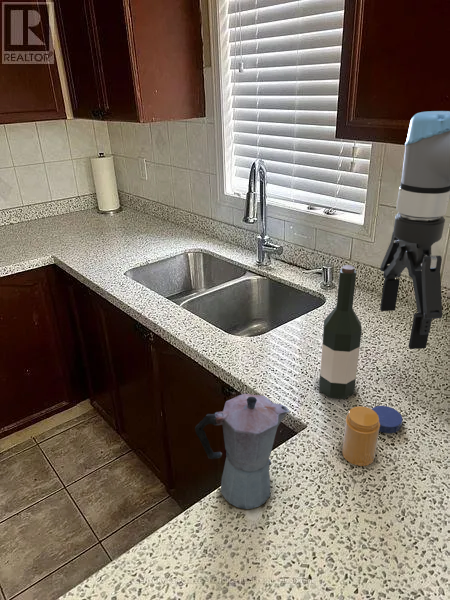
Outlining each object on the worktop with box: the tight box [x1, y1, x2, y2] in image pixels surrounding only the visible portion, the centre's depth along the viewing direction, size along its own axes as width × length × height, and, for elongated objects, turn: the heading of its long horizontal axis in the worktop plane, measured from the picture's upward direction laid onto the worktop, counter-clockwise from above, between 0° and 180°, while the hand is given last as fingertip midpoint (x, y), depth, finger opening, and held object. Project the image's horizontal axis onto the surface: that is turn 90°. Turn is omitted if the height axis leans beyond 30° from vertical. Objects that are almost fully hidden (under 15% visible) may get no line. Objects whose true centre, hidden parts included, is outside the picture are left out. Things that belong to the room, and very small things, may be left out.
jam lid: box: [371, 405, 403, 434], centre depth 92 cm, size 6×6×2 cm
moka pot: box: [194, 393, 291, 510], centre depth 74 cm, size 10×15×20 cm, turn 107°
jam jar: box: [341, 405, 380, 467], centre depth 83 cm, size 6×6×9 cm
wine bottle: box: [318, 264, 363, 400], centre depth 96 cm, size 8×8×30 cm
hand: (401, 327), depth 82 cm, fingers open, 13 cm apart
